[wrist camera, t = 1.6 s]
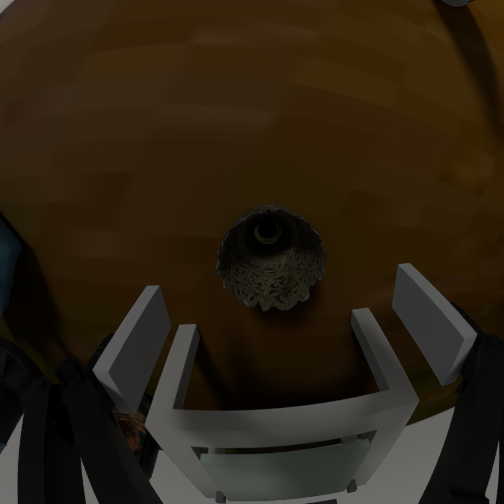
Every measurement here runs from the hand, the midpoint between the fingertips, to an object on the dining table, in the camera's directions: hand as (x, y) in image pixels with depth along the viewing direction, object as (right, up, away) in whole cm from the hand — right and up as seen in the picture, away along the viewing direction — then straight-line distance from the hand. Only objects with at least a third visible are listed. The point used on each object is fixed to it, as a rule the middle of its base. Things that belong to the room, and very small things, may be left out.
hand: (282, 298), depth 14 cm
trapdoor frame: (+2, -15, +19) cm, 24 cm away
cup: (0, +5, +12) cm, 13 cm away
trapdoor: (+2, -25, +8) cm, 26 cm away
